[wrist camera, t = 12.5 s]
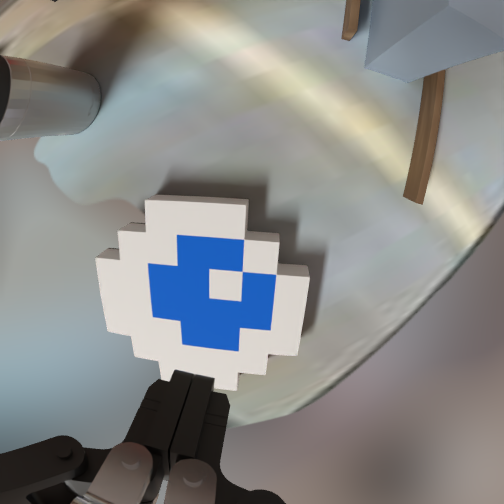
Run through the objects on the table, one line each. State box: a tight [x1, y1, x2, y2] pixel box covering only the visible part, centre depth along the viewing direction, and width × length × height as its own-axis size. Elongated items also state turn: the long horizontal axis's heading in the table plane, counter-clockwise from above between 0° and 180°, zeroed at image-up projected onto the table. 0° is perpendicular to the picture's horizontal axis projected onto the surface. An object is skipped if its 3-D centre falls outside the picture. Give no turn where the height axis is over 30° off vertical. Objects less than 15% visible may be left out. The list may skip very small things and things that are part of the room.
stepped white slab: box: [95, 195, 310, 391], centre depth 41 cm, size 28×4×28 cm
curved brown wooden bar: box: [342, 0, 445, 205], centre depth 28 cm, size 12×33×4 cm, turn 171°
